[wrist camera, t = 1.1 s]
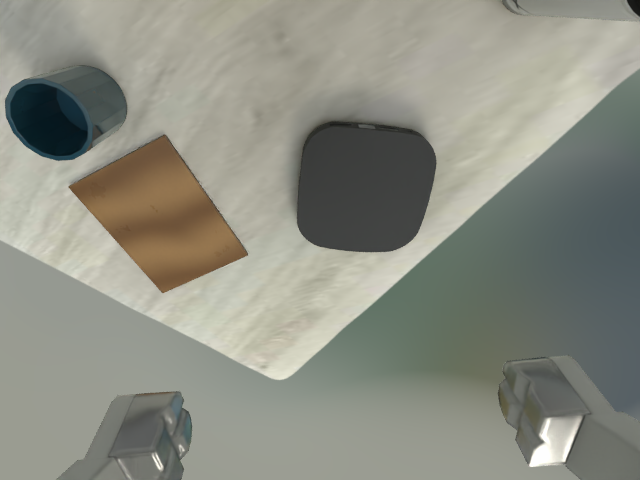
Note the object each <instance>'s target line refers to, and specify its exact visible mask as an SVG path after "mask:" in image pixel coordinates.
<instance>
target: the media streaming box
mask: <svg viewBox="0 0 640 480" xmlns="http://www.w3.org/2000/svg"><path fill="white" fill-rule="evenodd" d="M435 169H436V156H435V153H434V150H433V148H432V146H431V145H430V144H429V142H428V141H427V140H426V139H425V138H424V137H423V136H422V135H421V134H419V133H418V132H416V131H414V130H410V129H404V128H398V127H391V126H383V125H374V124H363V123H349V122H330V123H326V124H323V125H321V126H320V127H318V128H317V129H315V130H314V131H313V132H312V133H311V134H310V135H309V137H308V138H307V140H306V142H305V144H304V148H303V155H302V162H301V170H300V179H299V191H298V212H297V224H298V228H299V230H300V232H301V234H302V235H303V236H304V237H305V238H306V239H307V240H308V241H310V242H311V243H313V244H315V245H317V246H320V247H325V248H330V249H337V250H345V251H356V252H389V251H393V250H396V249H399V248H401V247H403V246H405V245H406V244H408V243H409V242H410V241H411V240H412V239H413V238H414V237H415V236H416V235H417V233H418V231H419V229H420V226H421V223H422V221H423V218H424V215H425V212H426V209H427V205H428V202H429V198H430V194H431V190H432V186H433V181H434V175H435Z"/></svg>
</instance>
